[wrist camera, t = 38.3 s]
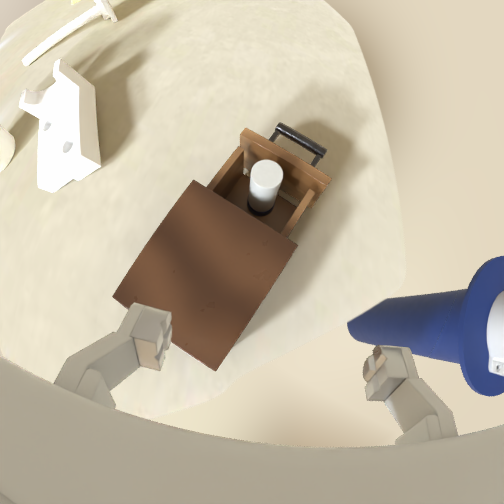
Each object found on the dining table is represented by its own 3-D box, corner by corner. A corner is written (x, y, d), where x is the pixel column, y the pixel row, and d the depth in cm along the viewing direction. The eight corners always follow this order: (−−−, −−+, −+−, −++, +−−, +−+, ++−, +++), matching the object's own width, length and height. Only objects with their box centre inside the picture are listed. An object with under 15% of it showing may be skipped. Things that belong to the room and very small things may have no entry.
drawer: (263, 134, 41) (267, 101, 33) (331, 175, 40) (349, 148, 32) (185, 237, 38) (173, 220, 30) (261, 287, 37) (267, 281, 29)
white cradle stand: (57, 115, 43) (21, 93, 33) (95, 87, 42) (60, 58, 31) (58, 194, 40) (11, 178, 30) (101, 166, 39) (53, 140, 28)
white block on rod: (135, -18, 38) (14, 62, 38) (147, 7, 47) (33, 80, 47) (128, -28, 39) (17, 45, 39) (138, -5, 48) (34, 62, 48)
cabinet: (203, 208, 39) (193, 179, 30) (283, 260, 39) (298, 245, 29) (141, 299, 37) (111, 296, 27) (221, 356, 36) (215, 371, 27)
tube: (278, 200, 38) (290, 169, 29) (264, 221, 37) (272, 195, 28) (256, 186, 38) (261, 152, 29) (241, 207, 38) (243, 177, 29)
